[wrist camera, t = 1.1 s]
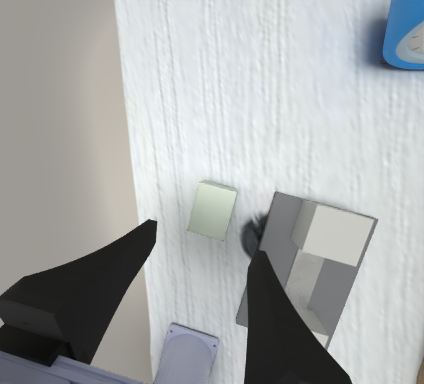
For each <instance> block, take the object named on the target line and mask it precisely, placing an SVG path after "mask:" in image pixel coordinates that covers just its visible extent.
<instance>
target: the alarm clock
mask: <svg viewBox="0 0 424 384" xmlns="http://www.w3.org/2000/svg"><path fill="white" fill-rule="evenodd" d="M383 57H384V60H382V61H381V63H380V64H383V63H387V62H388V63H389V64H390V65H392V66H395V67H398V68H403V69H424V0H391V5H390V11H389V16H388V22H387V28H386V34H385V40H384V45H383Z"/></svg>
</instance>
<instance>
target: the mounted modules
mask: <svg viewBox="0 0 424 384" xmlns="http://www.w3.org/2000/svg"><path fill="white" fill-rule="evenodd" d="M373 222H374V220H373V219H370V218H367V217H364V216H361V215H358V214H355V213H352V212H349V211H345V210H341V209H337V208H334V207H330V206H326V205H322V204H318V203H314V202H311V201H307V200H304V199H303V202H302V205H301V209H300V212H299V215H298V218H297V221H296V224H295V227H294V230H293V233H292V236H291V240H292V241H293V242H294V243H295V244H296V245H297V246H298V247H299V249H300V250H301V251H303V252H306V253H310V254H313V255H317V256H320V257H324V258H327V259H331V260H334V261H338V262H341V263H345V264H348V265H352V266H355V267H356V266H357V263H358V261H359V258H360V255H361V253H362V250H363V248H364V245H365V243H366V240H367V238H368V235H369V232H370V230H371V227H372V225H373ZM294 308H295V309H296V311H297V312H298V314H299V315H300V317H301V318H302V320H303V321H304V322H305V324H306V325H307V326H308V328H309V329H310V330H311V332H312V333H313V334H314V336H315V337H316V338H317V339H318V341H319V342H320V343H321V344H322V346H323V347H324V348H325V345H326V343H327V340H328V338H329V336H328V334H327V333H326V331H325V329H324V327H323V326H322V324H321V322H320V321H319V319H318V317H317V316H316V314H315V312H314V311H312V310H309V309H306V310H303V309H300V308H297V307H294Z"/></svg>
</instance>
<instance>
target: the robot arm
mask: <svg viewBox="0 0 424 384" xmlns="http://www.w3.org/2000/svg"><path fill="white" fill-rule="evenodd" d="M156 232H157V221H154V220H150V219H148V220H147V221H145V222H144V223H142V224H141V225H139V226H138V227H136V228H135V229H134V230H132V231H130V232H129V233H127V234H126V235H124V236H123V237H121V238H119V239H118V240H116V241H114V242H112V243H111V244H109V245H107V246H105V247H103V248H101V249H99V250H97V251H95V252H93V253H91V254H89V255H86V256H84V257H82V258H79V259H77V260H74V261H72V262H69V263H66V264H64V265H61V266H58V267H55V268H52V269H49V270H46V271H42V272H39V273H35V274H32V275H29V276H25V277H23V278H22V279H20V280H19V281H18V282H17V283H15V284H14V285H13V286H12V287H10V288H9V289H8V290H7V291H6V292H4V293H3V294H2V295H1V296H0V318H1V319H2V321H3V322H4V323H5V324H4V325H3V326H2V327H1V328H0V384H146V383H143V382H140V381H137V380H134V379H131V378H128V377H124V376H122V375H119V374H115V373H112V372H109V371H106V370H103V369H100V368H97V367H94V366H91V365H90V363H91V361H92V359H93V357H94V355H95V353H96V351H97V348H98V346H99V344H100V342H101V340H102V338H103V335H104V333H105V331H106V330H107V328H108V326H109V324H110V321H111V319H112V317H113V316H114V314H115V312H116V310H117V308H118V306H119V304H120V302H121V300H122V298H123V296H124V294H125V293H126V291H127V289H128V287H129V286H130V284H131V282H132V281H133V279H134V278H135V276H136V275H137V273H138V272H139V270H140V269H141V267H142V266H143V264H144V263H145V261H146V260H147V258H148V256H149V255H150V253H151V251H152V249H153V247H154V245H155V243H156ZM247 304H248V336H247V353H246V366H245V378H244V384H352V382H351V379H350V377H349V375H348V374H347V373H346V372H345V371H344V370H343V369H342V367H341V366H340V365H339V364H338V363H337V362H336V361H335V360H334V359H333V357H332V356H331V355H330V354H329V353H328V352H327V350H326V349H325V348H324V347H323V346H322V344H321V343H320V342H319V341H318V339H317V338H316V337H315V336H314V334H313V333H312V332H311V330H310V329H309V328H308V326H307V325H306V324H305V322H304V321H303V320H302V318H301V317H300V315H299V314H298V312H297V311H296V309H295V308H294V306H293V304H292V303H291V301H290V300H289V298H288V296H287V294H286V293H285V291H284V289H283V287H282V285H281V283H280V281H279V279H278V277H277V275H276V273H275V271H274V269H273V267H272V265H271V262H270V260H269V258H268V256H267V253H266V251H262V250H259V249H257V250H256V252H255V254H254V256H253V258H252V260H251V263H250V265H249V267H248V273H247ZM172 330H173V331H172ZM214 344H215V345H214ZM218 345H219V340H218V339H217V338H215V337H212V336H209V335H206V334H203V333H199V332H196V331H193V330H190V329H187V328H184V327H181V326H178V325H175V324H170V326H169V329H168V333H167V337H166V341H165V345H164V349H163V353H162V357H161V361H160V365H159V369H158V371H157V374H156V377H155V380H154V382H153V384H208V382H209V375H210V371H211V368H212V365H213V361H214V358H215V355H216V351H217V348H218Z"/></svg>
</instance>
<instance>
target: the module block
mask: <svg viewBox="0 0 424 384" xmlns="http://www.w3.org/2000/svg"><path fill="white" fill-rule="evenodd" d="M236 195H237V190H236V188H232V187H228V186H224V185H221V184H217V183H213V182H209V181H206V180H205V181H202V182H199V185H198V189H197V193H196V197H195V201H194V205H193V209H192V213H191V217H190V221H189V225H188V229H187V231H190V232H194V233H197V234H201V235H204V236H208V237H211V238H215V239H218V240H221V241H224V238H225V234H226V230H227V227H228V223H229V220H230V216H231V212H232V209H233V205H234V202H235V198H236Z"/></svg>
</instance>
